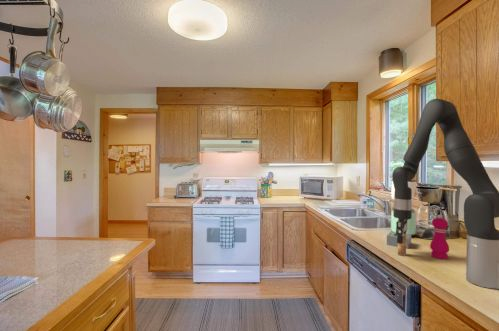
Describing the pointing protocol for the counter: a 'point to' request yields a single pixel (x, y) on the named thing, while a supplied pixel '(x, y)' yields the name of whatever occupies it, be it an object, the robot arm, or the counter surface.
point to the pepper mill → (439, 238)
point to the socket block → (393, 240)
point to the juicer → (412, 221)
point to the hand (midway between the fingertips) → (401, 241)
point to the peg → (402, 247)
